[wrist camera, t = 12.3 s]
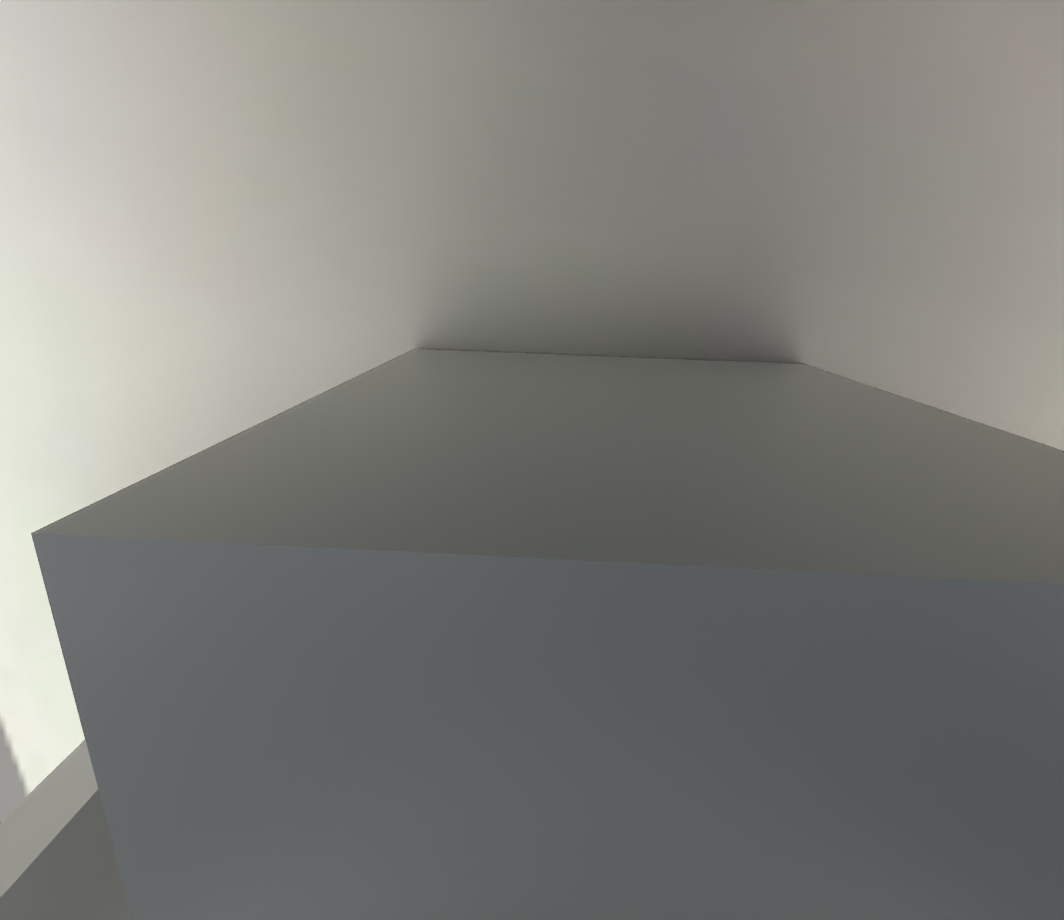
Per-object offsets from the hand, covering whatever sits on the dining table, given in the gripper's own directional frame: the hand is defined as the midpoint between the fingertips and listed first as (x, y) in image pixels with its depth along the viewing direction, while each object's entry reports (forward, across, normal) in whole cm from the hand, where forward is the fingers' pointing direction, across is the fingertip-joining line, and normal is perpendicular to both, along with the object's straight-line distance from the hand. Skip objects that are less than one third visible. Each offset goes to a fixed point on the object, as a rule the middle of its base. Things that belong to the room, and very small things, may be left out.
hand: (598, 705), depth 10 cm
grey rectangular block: (+3, 0, 0) cm, 3 cm away
